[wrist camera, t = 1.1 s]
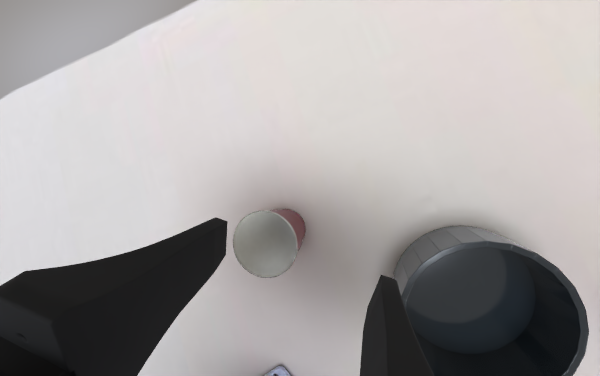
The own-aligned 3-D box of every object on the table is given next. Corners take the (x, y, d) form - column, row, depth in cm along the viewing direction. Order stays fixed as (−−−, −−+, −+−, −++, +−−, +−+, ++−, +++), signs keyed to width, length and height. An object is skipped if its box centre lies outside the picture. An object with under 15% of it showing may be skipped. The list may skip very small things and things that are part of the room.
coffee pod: (283, 265, 25) (260, 290, 20) (251, 223, 26) (220, 237, 20) (323, 234, 24) (310, 252, 19) (289, 191, 25) (267, 197, 19)
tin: (448, 377, 23) (470, 434, 18) (366, 274, 24) (365, 301, 19) (570, 309, 20) (633, 352, 16) (474, 198, 21) (504, 207, 17)
